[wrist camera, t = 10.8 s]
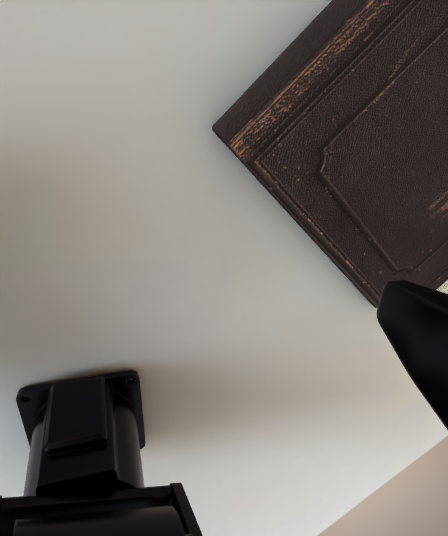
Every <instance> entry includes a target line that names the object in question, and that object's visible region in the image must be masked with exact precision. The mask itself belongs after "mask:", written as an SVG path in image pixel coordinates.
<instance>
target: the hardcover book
mask: <svg viewBox="0 0 448 536" xmlns="http://www.w3.org/2000/svg"><path fill="white" fill-rule="evenodd" d="M212 130H213V131H214V132H215V134H216V135H217V136H218V137H219V138H220V139H221V140H222V141H223V143H224V144H225V145H226V146H227V147H228V148H229V149H230V150H231V151H232V152H233V153H234V155H235V156H236V157H237V158H238V159H239V160H240V161H241V162H242V163H243V164H244V165H245V167H246V168H247V169H248V170H249V171H250V172H251V173H252V174H253V175H254V176H255V177H256V179H257V180H258V181H259V182H260V183H261V184H262V185H263V186H264V187H265V188H266V190H267V191H268V192H269V193H270V194H271V195H272V196H273V197H274V198H275V199H276V200H277V202H278V203H279V204H280V205H281V206H282V207H283V208H284V209H285V210H286V211H287V212H288V214H289V215H290V216H291V217H292V218H293V219H294V220H295V221H296V222H297V223H298V224H299V226H300V227H301V228H302V229H303V230H304V231H305V232H306V233H307V234H308V235H309V236H310V238H311V239H312V240H313V241H314V242H315V243H316V244H317V245H318V246H319V247H320V248H321V250H322V251H323V252H324V253H325V254H326V255H327V256H328V257H329V258H330V259H331V261H332V262H333V263H334V264H335V265H336V266H337V267H338V268H339V269H340V270H341V271H342V273H343V274H344V275H345V276H346V277H347V278H348V279H349V280H350V281H351V282H352V283H353V285H354V286H355V287H356V288H357V289H358V290H359V291H360V292H361V293H362V294H363V295H364V297H365V298H366V299H367V300H368V301H369V302H370V303H371V304H372V305H373V306H374V307H375V308H376V307H377V309H378V305H379V301H380V298H381V294H382V290H383V287H384V285H385V284H386V283H387V282H389V281H397V280H406V281H409V282H412V283H415V284H418V285H422V286H425V287H428V288H431V289H434V290H436V289H437V288H439V287H440V286H441V285H442V284H443V283H445V282H446V281H447V280H448V0H332V1H331V2H330V3H329V5H328V6H327V7H326V8H325V9H324V10H323V11H322V12H321V13H320V14H319V15H318V16H317V17H316V18H315V19H314V20H313V21H312V22H311V23H310V24H309V25H308V27H307V28H306V29H305V30H304V31H303V32H302V33H301V34H300V35H299V36H298V37H297V38H296V39H295V40H294V41H293V42H292V43H291V44H290V45H289V46H288V47H287V49H286V50H285V51H284V52H283V53H282V54H281V55H280V56H279V57H278V58H277V59H276V60H275V61H274V62H273V63H272V64H271V65H270V66H269V67H268V68H267V70H266V71H265V72H264V73H263V74H262V75H261V76H260V77H259V78H258V79H257V80H256V81H255V82H254V83H253V84H252V85H251V86H250V87H249V88H248V89H247V90H246V92H245V93H244V94H243V95H242V96H241V97H240V98H239V99H238V100H237V101H236V102H235V103H234V104H233V105H232V106H231V107H230V108H229V109H228V110H227V111H226V112H225V114H224V115H223V116H222V117H221V118H220V119H219V120H218V121H217V122H216V123H215V124H214V125H213V126H212Z"/></svg>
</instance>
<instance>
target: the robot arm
mask: <svg viewBox="0 0 448 536" xmlns="http://www.w3.org/2000/svg"><path fill="white" fill-rule="evenodd" d="M377 319H378V322H379V324H380V326H381V327H382V329H383V331H384V333H385V334H386V336H387V338H388V340H389V341H390V343H391V345H392V347H393V348H394V350H395V352H396V354H397V355H398V357H399V359H400V360H401V362H402V364H403V366H404V367H405V369H406V371H407V372H408V374H409V376H410V377H411V379H412V380H413V382H414V383H415V385H416V386H417V388H418V389H419V390H420V392H421V393H422V395H423V396H424V397H425V399H426V400H427V402H428V403H429V404H430V406H431V407H432V409H433V410H434V412H435V413H436V414H437V416H438V417H439V419H440V420H441V421H442V423H443V424H444V426H445V427H446V428H447V430H448V294H446V293H443V292H440V291H437V290H434V289H431V288H428V287H425V286H422V285H418V284H415V283H412V282H409V281H406V280H397V281H389V282H387V283H386V284H385V285H384V287H383V290H382V294H381V298H380V301H379V305H378V309H377ZM129 378H133V379H131V380H128V379H129ZM24 396H30V397H24ZM16 401H17V405H18V408H19V411H20V415H21V418H22V422H23V425H24V428H25V432H26V435H27V438H28V442H29V445H30V454H29V461H28V468H27V475H26V482H25V488H24V495H23V496H21V497H8V498H2V496H0V536H202V533H201V531H200V528H199V526H198V523H197V521H196V518H195V516H194V513H193V511H192V508H191V506H190V503H189V501H188V498H187V496H186V493H185V491H184V488H183V486H182V483H170V485H168V486H155V487H144V480H143V471H142V463H141V454H140V449H142V448H143V447H144V446H145V435H144V424H143V413H142V402H141V391H140V380H139V374H138V372H136V371H134V370H127V371H121V372H115V373H108V374H102V375H96V376H90V377H84V378H78V379H72V380H66V381H59V382H53V383H47V384H41V385H35V386H29V387H24V388H21V389H20V390H19V391H18V393H17V397H16Z"/></svg>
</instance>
